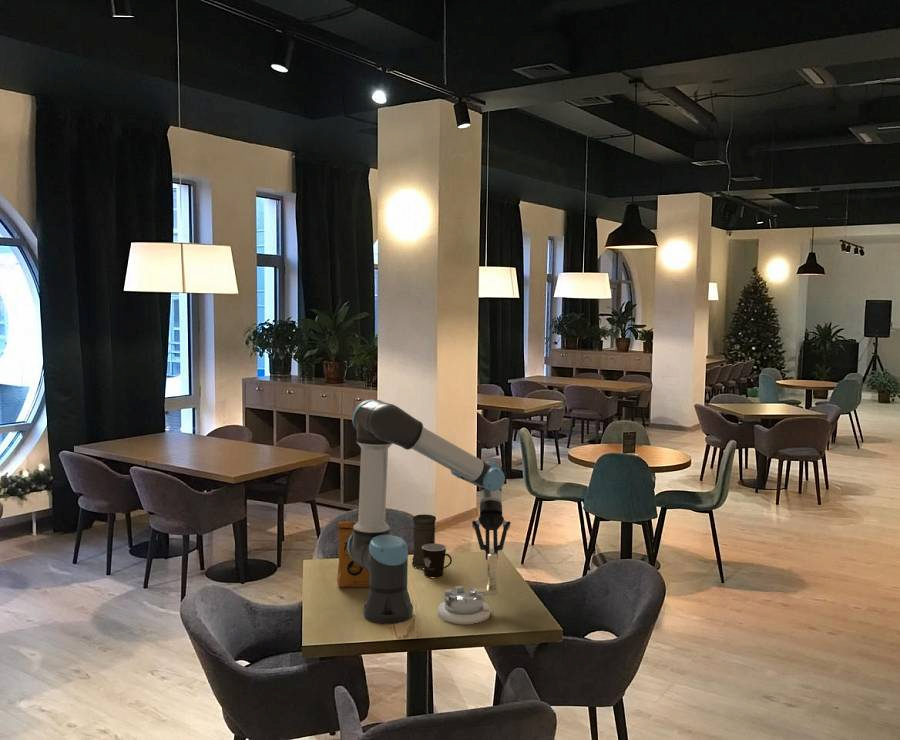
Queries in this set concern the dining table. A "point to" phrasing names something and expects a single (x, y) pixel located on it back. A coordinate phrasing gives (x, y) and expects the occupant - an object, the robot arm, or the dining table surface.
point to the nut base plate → (463, 618)
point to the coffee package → (349, 561)
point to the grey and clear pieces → (473, 592)
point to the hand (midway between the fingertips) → (491, 569)
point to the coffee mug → (434, 559)
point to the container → (422, 536)
